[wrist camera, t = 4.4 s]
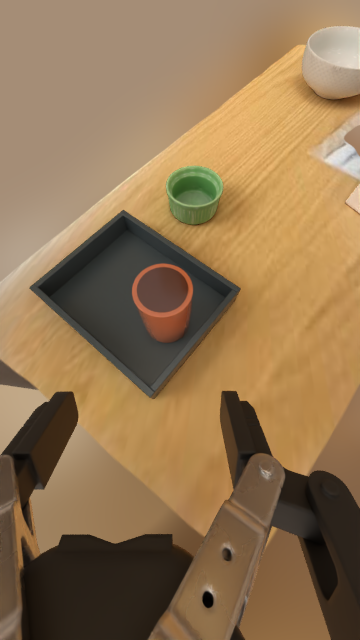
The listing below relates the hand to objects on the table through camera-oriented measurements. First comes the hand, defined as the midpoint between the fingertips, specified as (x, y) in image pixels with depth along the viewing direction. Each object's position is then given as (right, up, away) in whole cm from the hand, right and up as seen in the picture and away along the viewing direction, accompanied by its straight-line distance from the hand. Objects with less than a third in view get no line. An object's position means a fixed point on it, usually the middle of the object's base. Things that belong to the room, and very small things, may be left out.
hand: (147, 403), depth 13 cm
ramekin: (+4, +24, +28) cm, 37 cm away
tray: (-4, +7, +21) cm, 23 cm away
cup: (0, +4, +19) cm, 20 cm away
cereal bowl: (+36, +57, +41) cm, 79 cm away
